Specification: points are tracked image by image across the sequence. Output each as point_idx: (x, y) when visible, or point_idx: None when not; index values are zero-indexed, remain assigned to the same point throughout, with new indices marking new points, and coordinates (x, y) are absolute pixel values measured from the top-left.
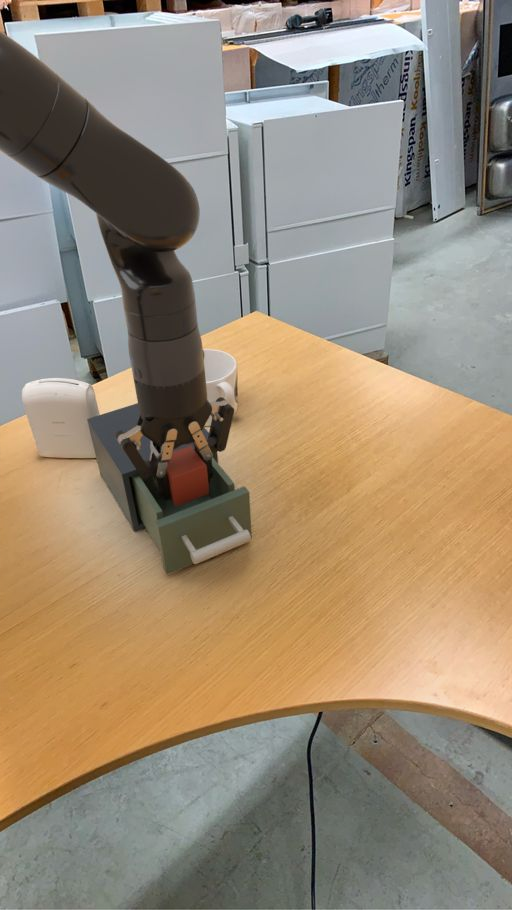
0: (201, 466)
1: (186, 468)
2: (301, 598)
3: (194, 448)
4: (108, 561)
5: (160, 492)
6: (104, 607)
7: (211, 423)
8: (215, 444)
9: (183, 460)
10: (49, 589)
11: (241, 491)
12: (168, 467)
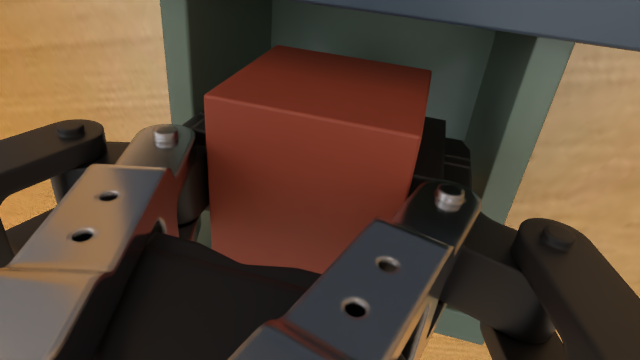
0: None
1: (293, 259)
2: (438, 343)
3: (500, 28)
4: (155, 12)
5: None
6: (124, 127)
7: (581, 343)
8: (493, 320)
9: (311, 209)
10: (25, 4)
11: (462, 329)
12: (226, 198)
